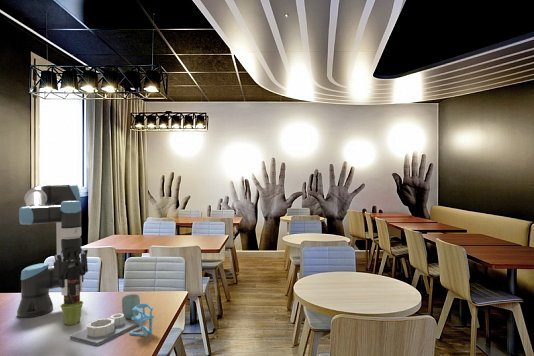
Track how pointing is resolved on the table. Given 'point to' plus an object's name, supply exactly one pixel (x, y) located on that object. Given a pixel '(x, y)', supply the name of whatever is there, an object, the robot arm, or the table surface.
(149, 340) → the table surface
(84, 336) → the bore plate
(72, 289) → the deodorant
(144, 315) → the chair
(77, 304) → the plant pot
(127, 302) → the cup
